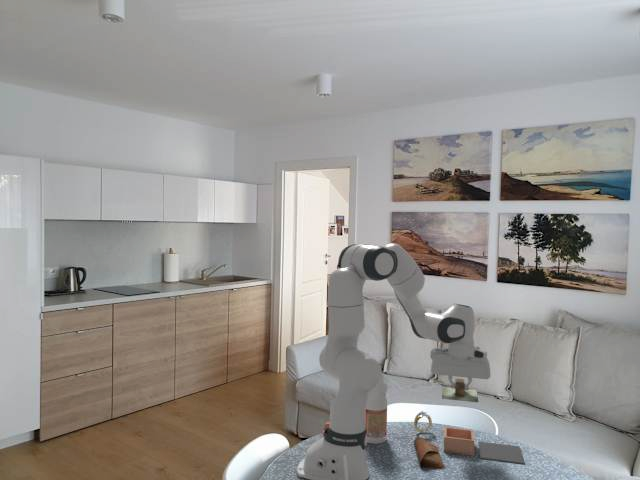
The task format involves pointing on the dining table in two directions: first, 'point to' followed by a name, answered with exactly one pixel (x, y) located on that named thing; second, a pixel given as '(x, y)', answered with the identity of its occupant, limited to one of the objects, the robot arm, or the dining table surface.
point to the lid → (459, 392)
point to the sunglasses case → (428, 454)
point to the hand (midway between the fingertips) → (459, 388)
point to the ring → (422, 414)
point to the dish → (458, 441)
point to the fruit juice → (377, 413)
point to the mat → (500, 452)
